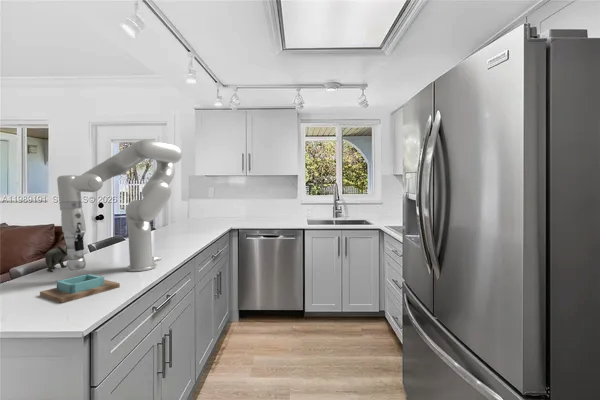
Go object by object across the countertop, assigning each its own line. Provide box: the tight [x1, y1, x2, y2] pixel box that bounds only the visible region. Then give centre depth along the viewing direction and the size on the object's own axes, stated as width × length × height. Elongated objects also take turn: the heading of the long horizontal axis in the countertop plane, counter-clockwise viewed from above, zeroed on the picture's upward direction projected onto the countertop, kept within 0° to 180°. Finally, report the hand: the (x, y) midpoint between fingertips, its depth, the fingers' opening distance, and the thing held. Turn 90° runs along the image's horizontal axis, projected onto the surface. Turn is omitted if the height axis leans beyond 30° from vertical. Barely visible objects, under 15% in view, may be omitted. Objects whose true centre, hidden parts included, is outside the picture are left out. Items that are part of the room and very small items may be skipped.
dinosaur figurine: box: [42, 244, 68, 273], centre depth 164 cm, size 22×8×11 cm, turn 179°
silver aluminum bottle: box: [63, 230, 87, 272], centre depth 144 cm, size 6×7×20 cm
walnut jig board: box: [39, 273, 121, 304], centre depth 131 cm, size 20×16×4 cm
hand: (75, 249), depth 145 cm, fingers closed on silver aluminum bottle, 6 cm apart
